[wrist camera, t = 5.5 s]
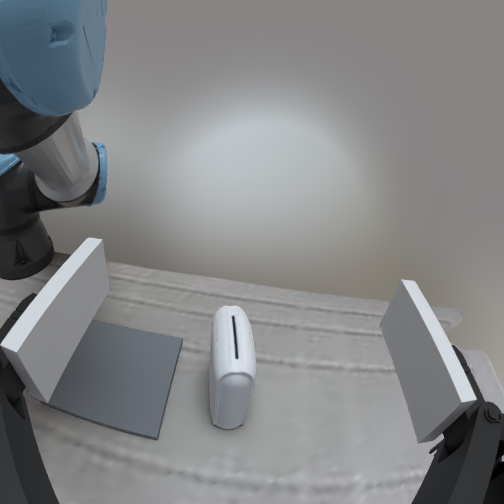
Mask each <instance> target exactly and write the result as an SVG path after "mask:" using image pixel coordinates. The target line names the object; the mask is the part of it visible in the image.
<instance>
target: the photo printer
mask: <svg viewBox="0 0 504 504" xmlns="http://www.w3.org/2000/svg"><path fill="white" fill-rule="evenodd" d="M255 376H256V358H255V349H254V342H253V335H252V330H251V326H250V323H249V320H248V318H247V316H246V314H245V313H244V311H243V310H242V309H241V308H240V307H238V306H227V305H226V306H223V307H221V308H220V309H218V310H217V312H216V313H215V315H214V318H213V321H212V332H211V346H210V360H209V398H210V410H211V417H212V421H213V424H214V425H217V426H218V427H220V428H223V429H234V428H236V427H238V426H239V425H243V423H244V421H245V417H246V413H247V409H248V406H249V402H250V398H251V394H252V390H253V387H254V383H255Z"/></svg>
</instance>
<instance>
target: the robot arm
mask: <svg viewBox="0 0 504 504" xmlns="http://www.w3.org/2000/svg"><path fill="white" fill-rule="evenodd" d="M106 2H107V0H0V277H2V278H5V279H20V278H24V277H27V276H30V275H32V274H35V273H37V272H38V271H40V270H41V269H43V268H44V267H45V266H46V265H47V264H48V263H49V262H50V261H51V260H52V258H53V255H54V248H53V243H52V240H51V238H50V236H49V235H48V234H47V231H46V229H45V227H44V225H43V223H42V221H41V219H40V215H39V212H40V211H46V210H53V209H62V208H71V207H80V206H92V205H95V204H100V203H101V202H103V200H104V199H105V195H106V183H107V156H106V148H105V145H104V144H102V143H95V142H93V143H90V141H88V140H87V139H86V138H84V137H83V134H82V130H81V126H80V121H79V117H78V113H77V110H80V109H83V108H85V107H86V106H88V105H89V104H90V103H91V102H92V100H93V98H95V95H96V93H97V92H98V88H99V84H100V80H101V74H102V69H103V60H104V50H105V36H106V25H105V16H106V11H107V9H106V8H107V3H106ZM109 291H110V287H109V280H108V274H107V268H106V261H105V254H104V246H103V240H102V239H96V238H89V237H88V238H87V239H86V240H85V241H84V242H83V243H82V245H81V246H80V247H79V248H78V249H77V250H76V251H75V252H74V253H73V254H72V255H71V256H70V257H69V259H68V260H67V261H66V262H65V263H64V264H63V265H62V266H61V268H60V269H59V270H58V271H57V272H56V273H55V274H54V276H53V277H52V278H51V279H50V280H49V282H48V283H47V284H46V285H45V286H44V287H43V289H42V290H41V291H40V292H39V294H35V293H32V294H31V295H29V296H28V297H26V298H25V299H24V300H22V302H21V303H20V304H19V305H18V307H17V308H16V311H14V312H13V313H12V314H11V315H10V318H8V319H7V321H6V322H5V323H4V325H3V326H2V327H1V329H0V504H59V502H58V500H57V497H56V495H55V493H54V490H53V488H52V485H51V483H50V480H49V478H48V475H47V473H46V470H45V467H44V464H43V462H42V459H41V456H40V453H39V450H38V447H37V443H36V440H35V437H34V433H33V430H32V426H31V422H30V418H29V414H28V410H27V406H26V401H25V398H24V396H23V394H22V393H23V391H24V389H25V387H26V389H27V390H28V392H29V393H30V395H31V396H32V397H35V398H37V399H39V400H41V401H44V402H46V403H48V402H49V400H50V398H51V395H52V393H53V391H54V389H55V387H56V385H57V383H58V381H59V379H60V377H61V375H62V373H63V372H64V370H65V368H66V366H67V364H68V362H69V360H70V358H71V356H72V355H73V353H74V351H75V349H76V347H77V345H78V344H79V342H80V340H81V338H82V337H83V335H84V333H85V331H86V330H87V328H88V326H89V324H90V323H91V321H92V319H93V318H94V316H95V314H96V312H97V311H98V309H99V307H100V306H101V304H102V303H103V301H104V299H105V298H106V296H107V294H108V293H109ZM380 327H381V330H382V333H383V335H384V338H385V341H386V343H387V346H388V349H389V352H390V355H391V357H392V360H393V363H394V366H395V369H396V372H397V375H398V378H399V381H400V384H401V387H402V390H403V393H404V396H405V400H406V403H407V406H408V409H409V413H410V416H411V420H412V423H413V427H414V430H415V434H416V437H417V441H418V443H423V442H428V441H433V440H435V439H436V438H437V437H438V436H439V435H440V434H442V433H443V435H444V439H443V440H442V441H441V442H439V443H438V444H437V445H436V446H435V447H433V448H432V449H431V450H430V452H429V453H430V454H431V453H433V452H434V451H435V450H436V449H437V452H436V454H434V459H433V461H432V463H431V465H430V468H429V470H428V472H427V474H426V476H425V478H424V480H423V482H422V484H421V486H420V488H419V490H418V492H417V494H416V496H415V498H414V500H413V502H412V504H504V461H503V462H502V456H503V455H504V414H502V413H501V411H500V409H499V408H498V406H496V405H495V404H494V403H492V402H485V400H484V398H483V396H482V394H481V392H480V390H479V387H478V385H477V383H476V381H475V379H474V377H473V375H472V373H471V371H470V368H469V366H467V362H466V360H465V359H464V357H463V355H462V353H461V352H460V351H459V350H458V349H457V348H456V347H455V345H451V344H450V342H449V340H448V338H447V337H446V335H445V333H444V331H443V329H442V327H441V325H440V324H439V322H438V320H437V318H436V316H435V315H434V313H433V311H432V309H431V308H430V306H429V304H428V303H427V301H426V299H425V298H424V296H423V294H422V293H421V291H420V289H419V288H418V286H417V284H416V283H415V281H409V280H401V281H400V283H399V286H398V288H397V290H396V292H395V294H394V296H393V298H392V301H391V303H390V305H389V307H388V309H387V311H386V313H385V315H384V317H383V319H382V321H381V323H380Z"/></svg>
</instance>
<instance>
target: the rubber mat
mask: <svg viewBox="0 0 504 504" xmlns="http://www.w3.org/2000/svg"><path fill="white" fill-rule="evenodd" d="M182 342H183V338H178V337H173V336H167V335H162V334H156V333H151V332H146V331H141V330H136V329H132V328H127V327H122V326H118V325H113V324H109V323H105V322H100V321H96V320H92V321H91V323H90V324H89V326H88V328H87V330H86V331H85V333H84V335H83V337H82V338H81V340H80V342H79V344H78V345H77V347H76V349H75V351H74V353H73V355H72V356H71V358H70V360H69V362H68V364H67V366H66V368H65V370H64V372H63V373H62V375H61V377H60V379H59V381H58V383H57V385H56V387H55V389H54V391H53V393H52V395H51V398H50V400H49V402H48V403H46V402H44V401H41V400H40V401H41V403H43V404H46V405H48V406H51V407H53V408H55V409H58V410H60V411H63V412H66V413H68V414H71V415H73V416H76V417H79V418H82V419H85V420H88V421H91V422H93V423H97V424H100V425H103V426H106V427H109V428H113V429H116V430H120V431H123V432H127V433H130V434H134V435H138V436H142V437H146V438H151V439H155V440H158V437H159V432H160V428H161V424H162V420H163V416H164V412H165V408H166V404H167V400H168V396H169V392H170V388H171V384H172V380H173V376H174V372H175V368H176V365H177V361H178V357H179V353H180V350H181V346H182Z"/></svg>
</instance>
